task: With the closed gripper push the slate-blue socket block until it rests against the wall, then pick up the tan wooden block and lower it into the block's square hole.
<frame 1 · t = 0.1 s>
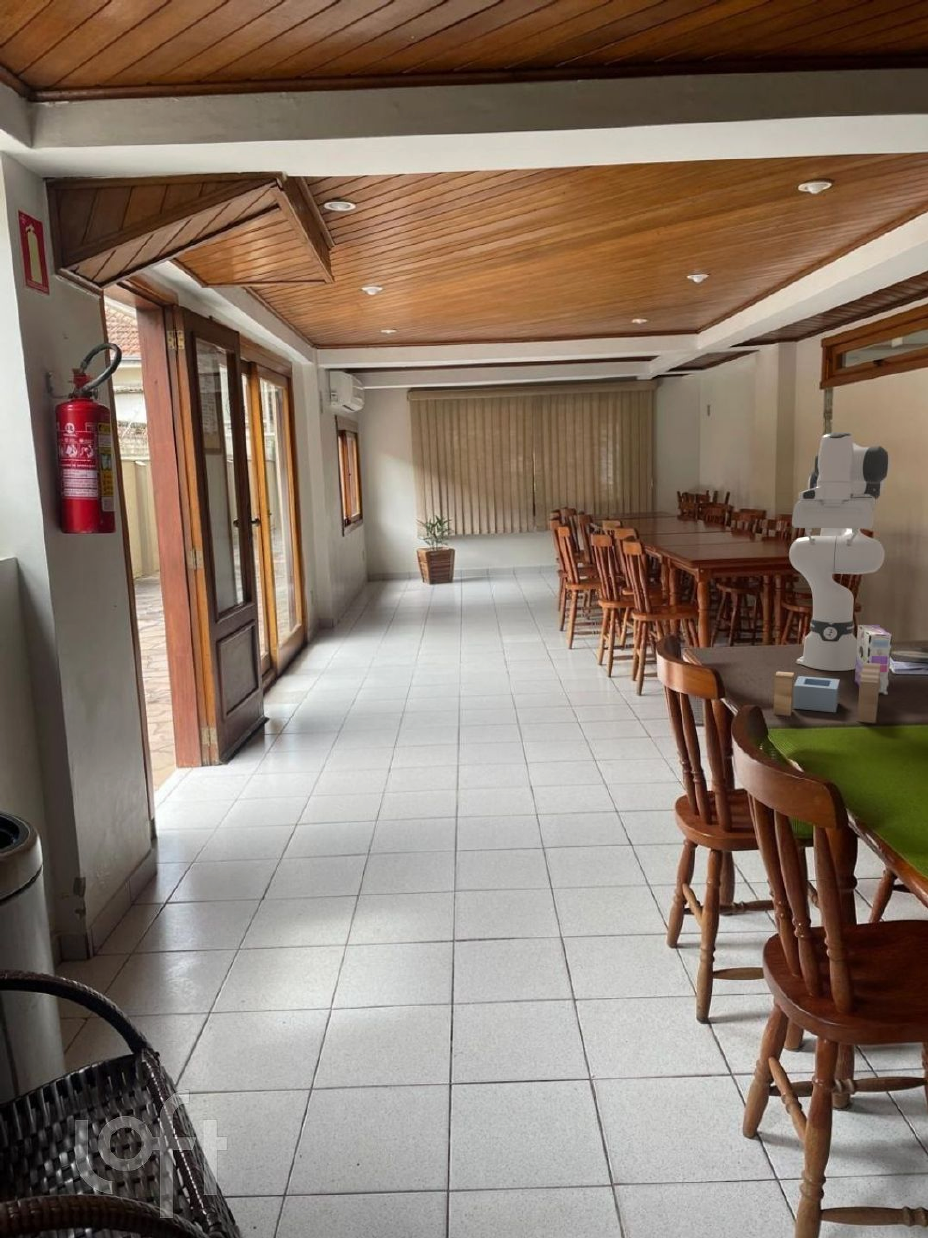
hand: (830, 545, 241), 39 cm above the table, tool pointing down, fingers open, 8 cm apart
candy box: (870, 688, 245), on the table
socket block: (816, 693, 229), point 3 cm above the table, slide at 0.0 cm
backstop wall: (868, 710, 224), on the table
tan wooden block: (782, 712, 225), on the table
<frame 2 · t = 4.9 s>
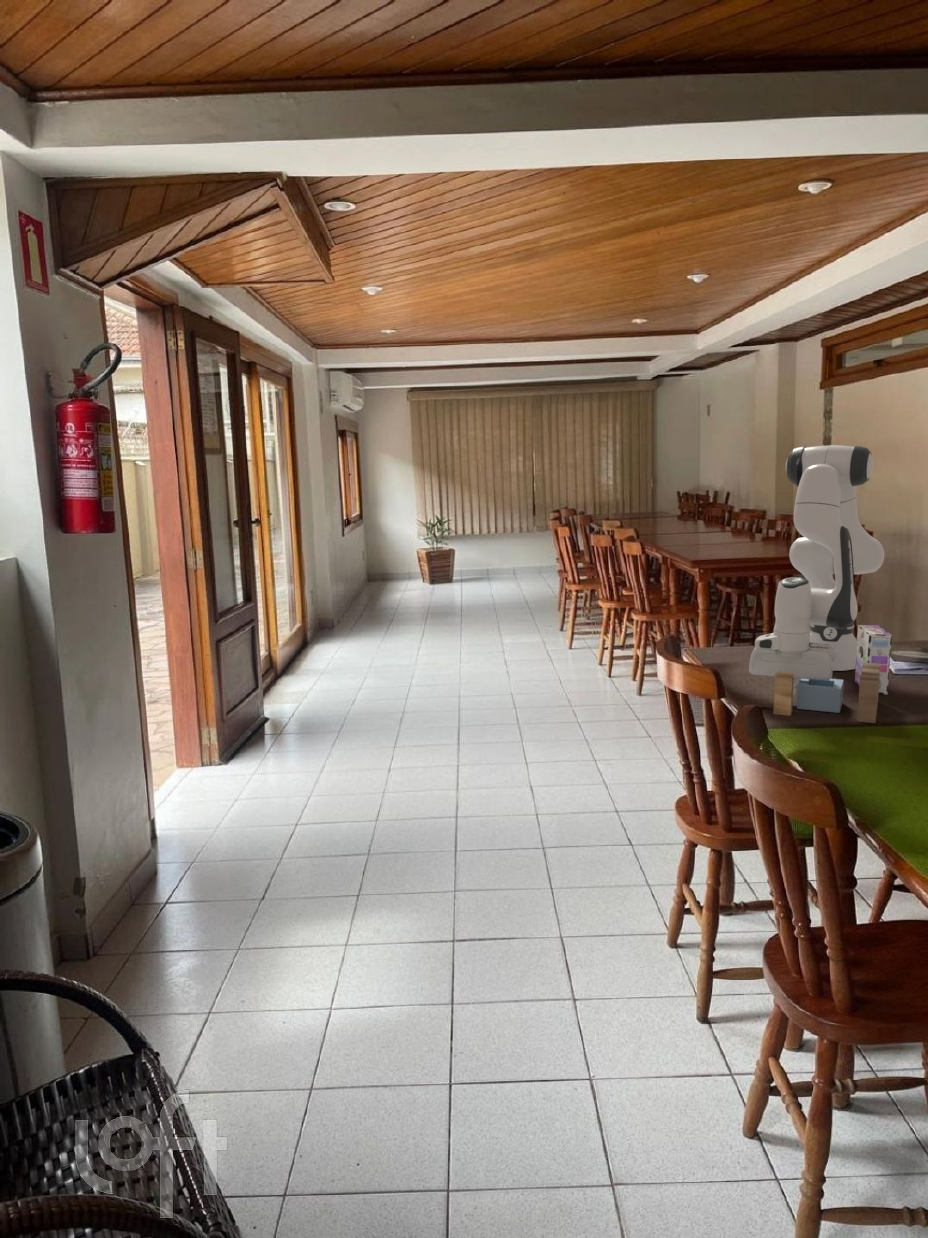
hand: (789, 693, 232), 3 cm above the table, tool pointing down, fingers closed
socket block: (820, 694, 229), point 3 cm above the table, slide at 0.9 cm, touching gripper
everything else where it was.
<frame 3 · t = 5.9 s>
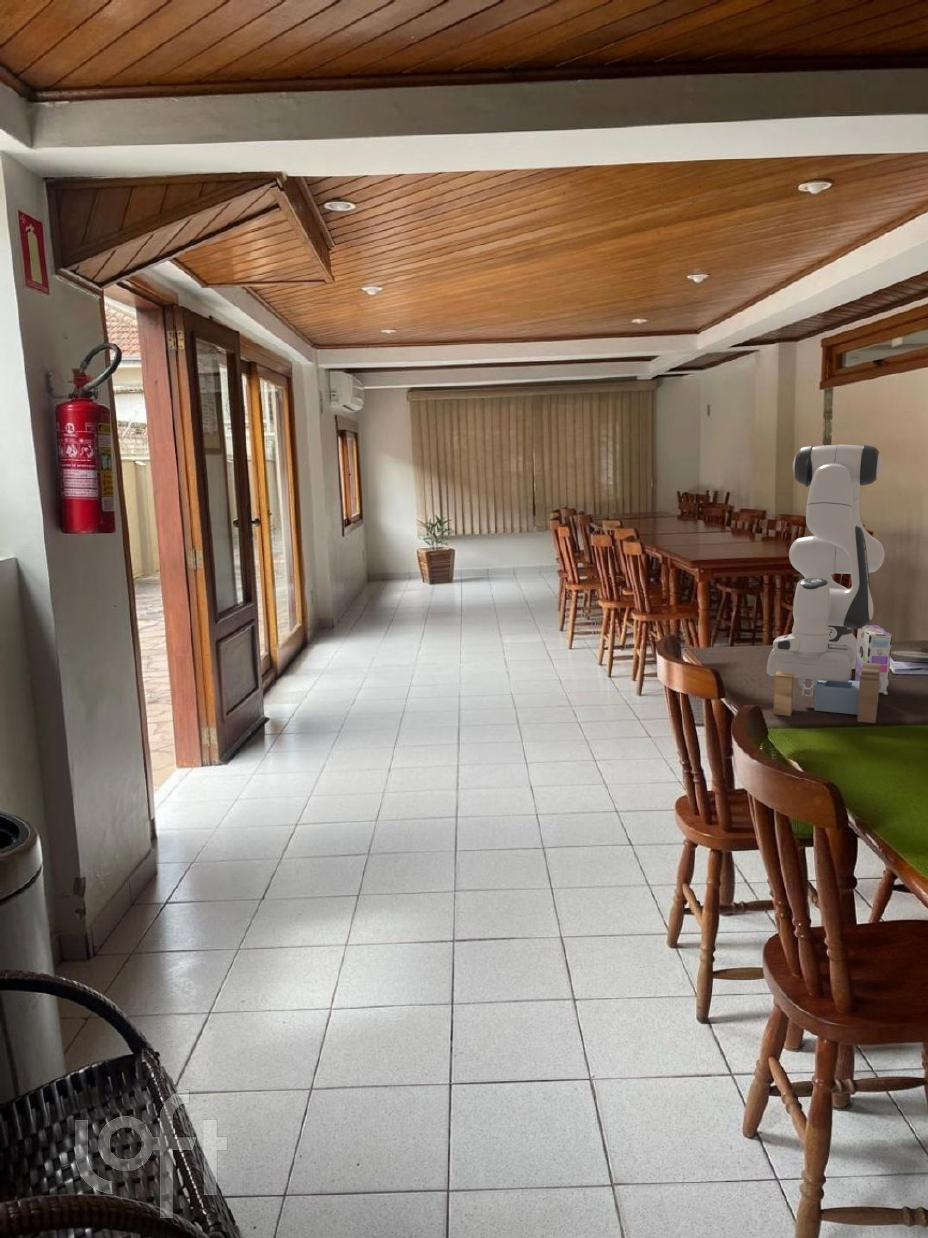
hand: (807, 695, 230), 3 cm above the table, tool pointing down, fingers closed
socket block: (838, 695, 227), point 3 cm above the table, slide at 5.1 cm, touching gripper
everything else where it was.
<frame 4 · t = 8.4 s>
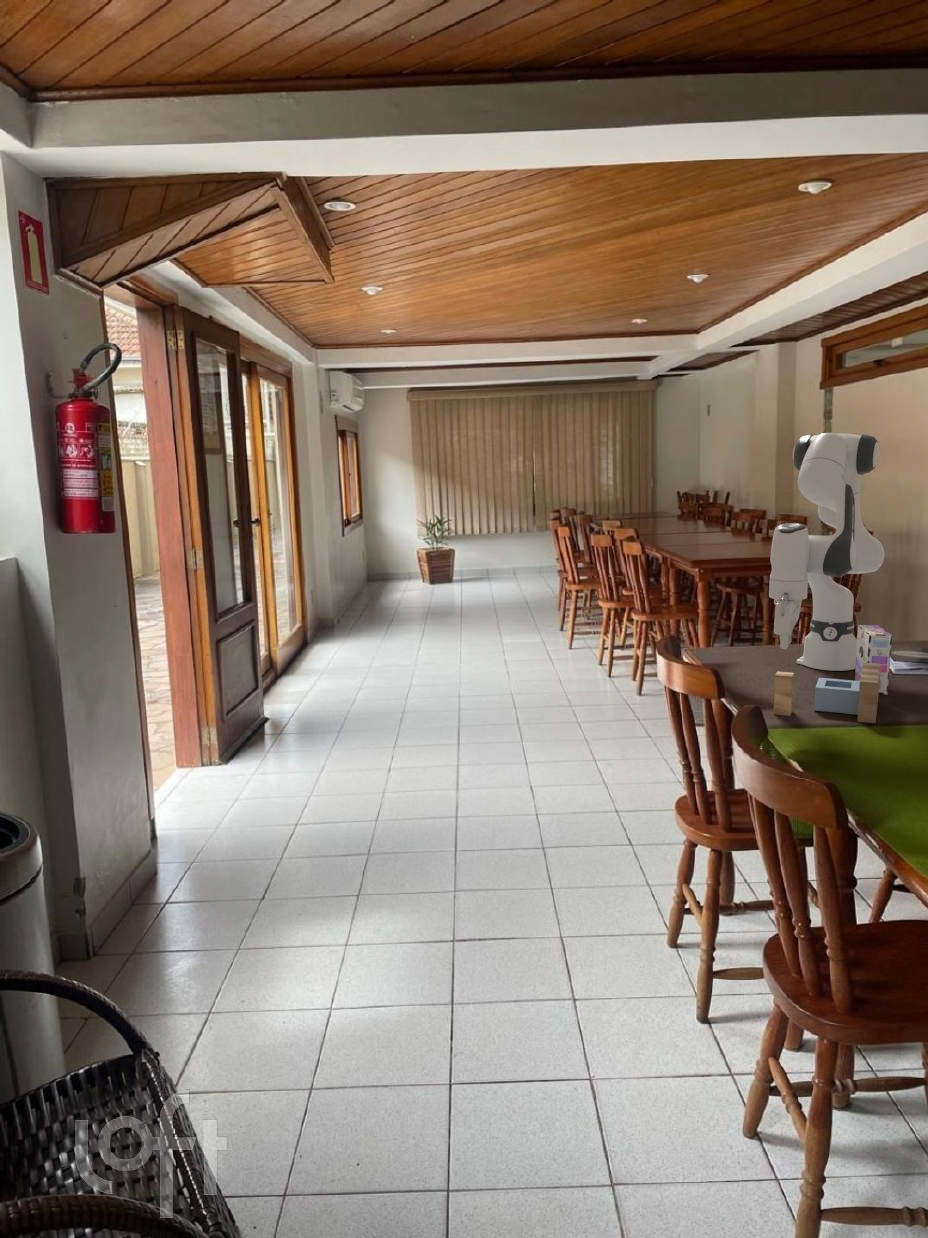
hand: (785, 645, 222), 17 cm above the table, tool pointing down, fingers open, 4 cm apart
socket block: (837, 695, 227), point 3 cm above the table, slide at 5.0 cm
everything else where it was.
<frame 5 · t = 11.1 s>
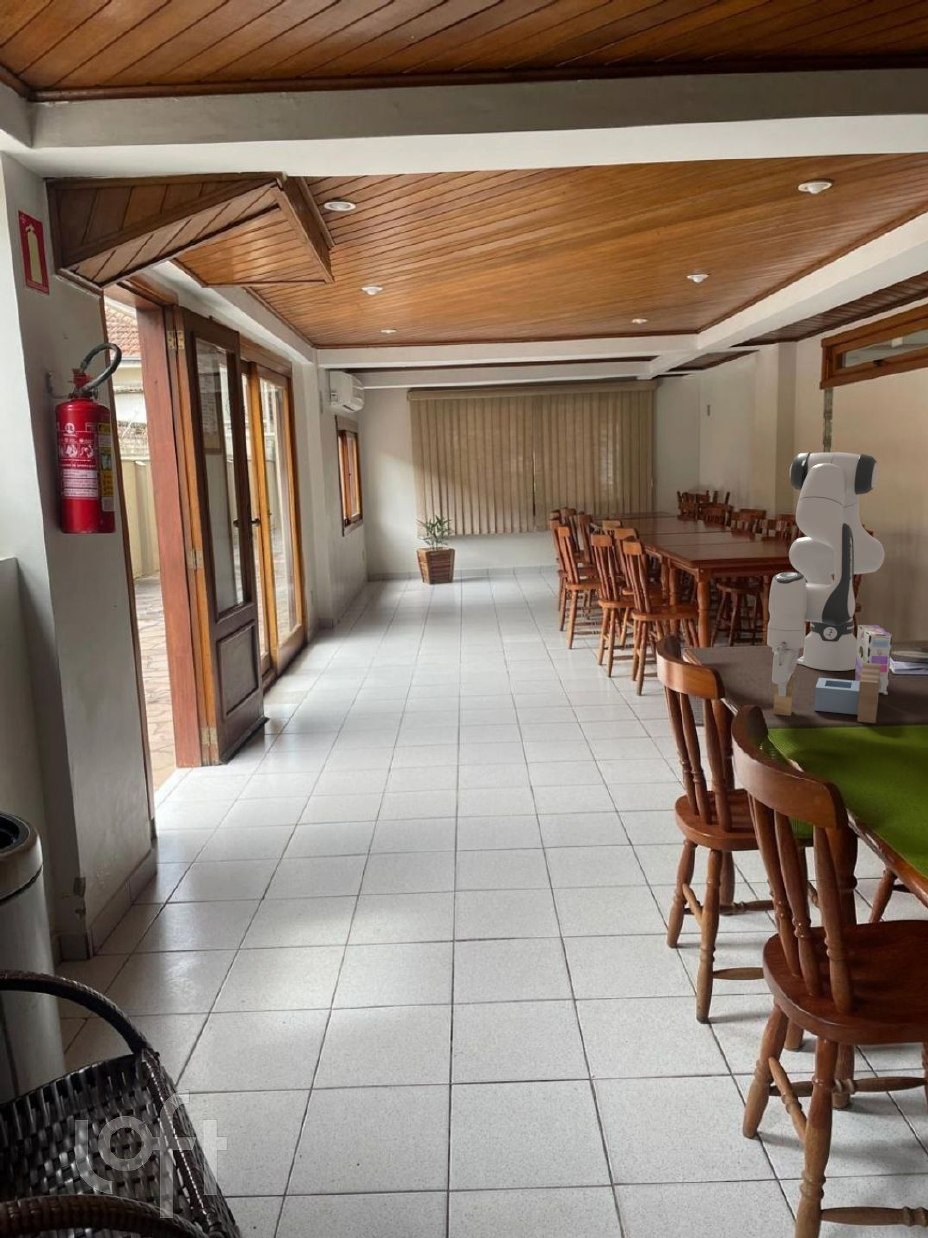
hand: (783, 692, 224), 5 cm above the table, tool pointing down, fingers closed on tan wooden block, 4 cm apart
tan wooden block: (782, 712, 225), on the table, touching gripper
everything else where it was.
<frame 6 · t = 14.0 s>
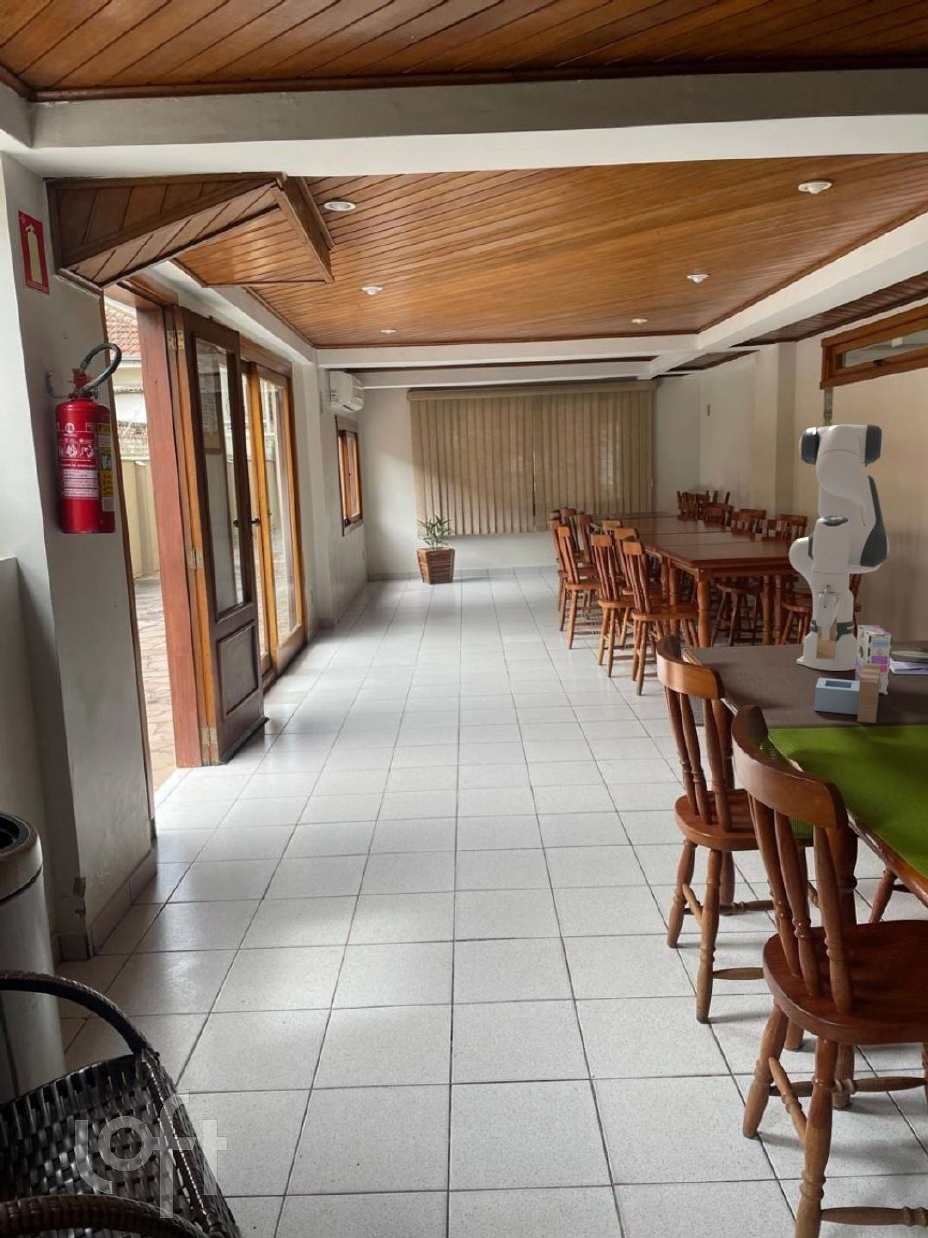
hand: (826, 637, 224), 18 cm above the table, tool pointing down, fingers closed on tan wooden block, 4 cm apart
tan wooden block: (825, 657, 225), point 13 cm above the table, touching gripper
everything else where it was.
when the fingers open (8 cm above the table, at t = 17.3 s): tan wooden block stays where it is, resting on socket block.
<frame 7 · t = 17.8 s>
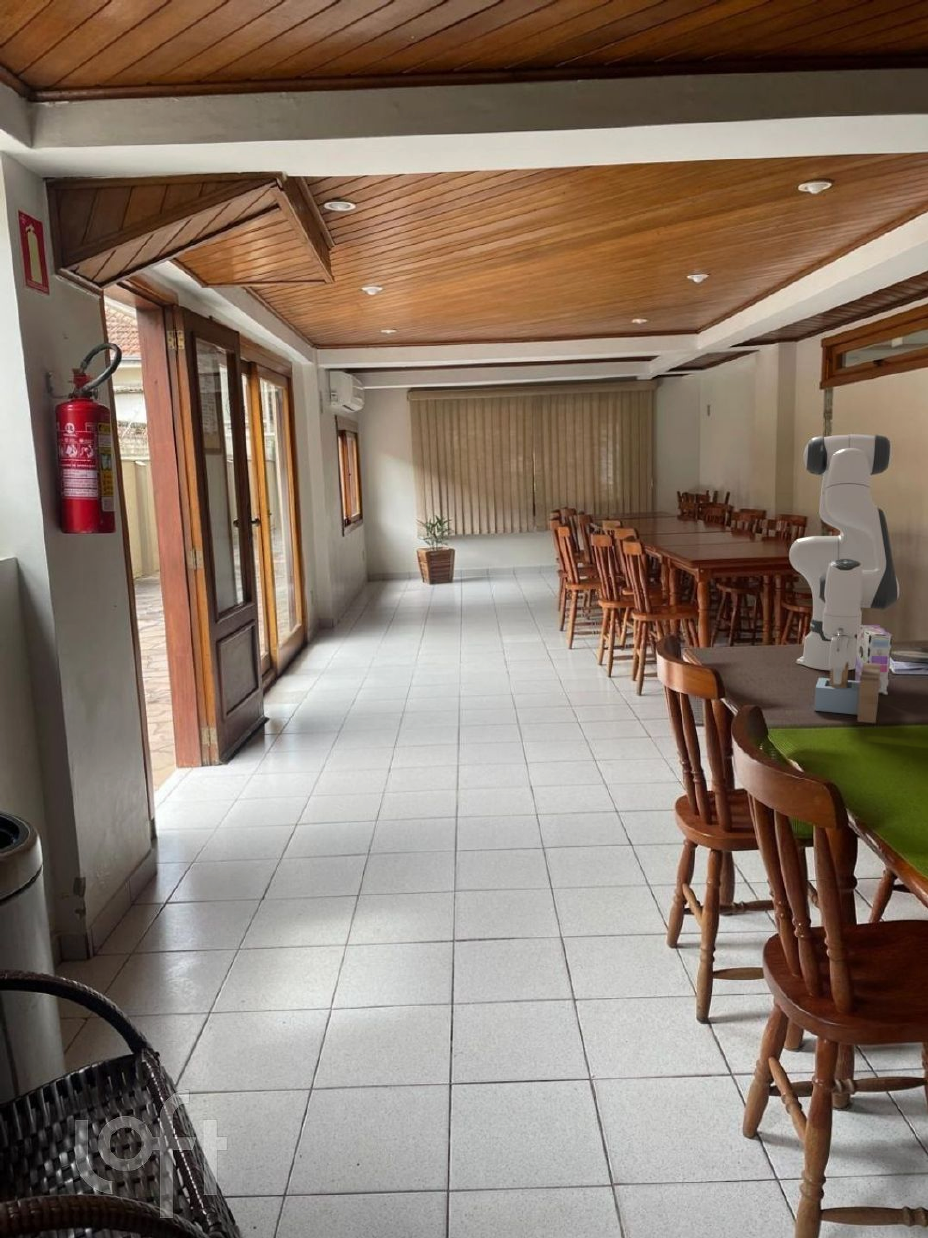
hand: (838, 678, 226), 8 cm above the table, tool pointing down, fingers open, 8 cm apart
socket block: (837, 695, 227), point 3 cm above the table, slide at 5.0 cm, touching tan wooden block
tan wooden block: (837, 701, 227), point 2 cm above the table, touching socket block
everything else where it was.
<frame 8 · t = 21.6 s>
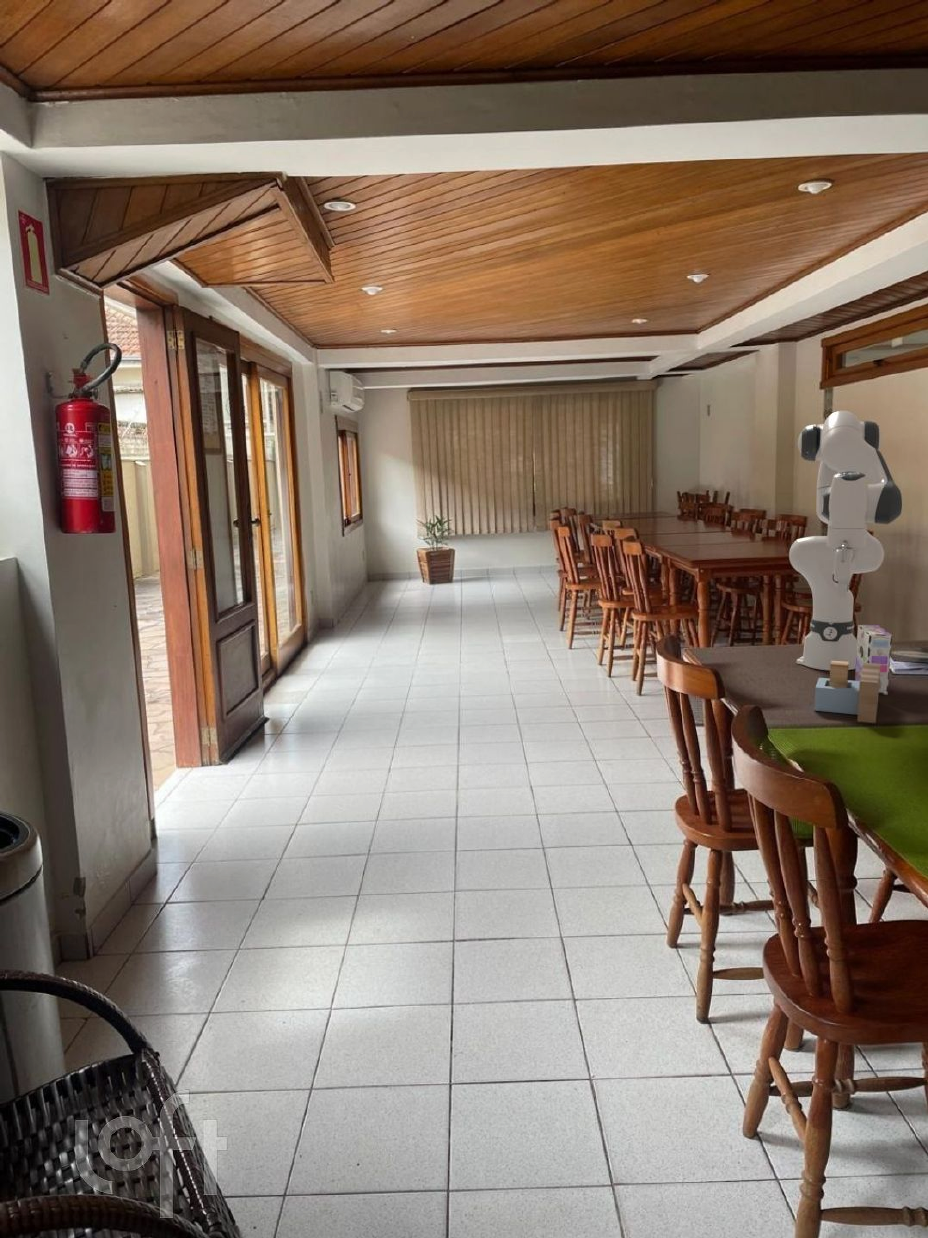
hand: (843, 594, 222), 29 cm above the table, tool pointing down, fingers open, 8 cm apart
nothing on the table moved.
at the end: socket block slide at 5.0 cm; tan wooden block 0.0 cm off-centre on the socket block, point 1.7 cm above the socket block's base; the gripper is holding nothing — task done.
